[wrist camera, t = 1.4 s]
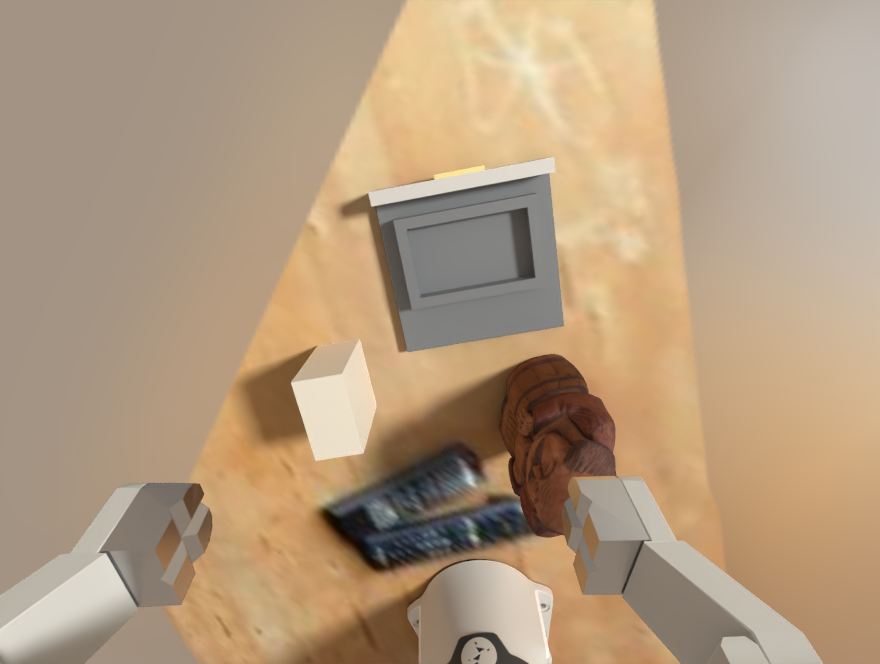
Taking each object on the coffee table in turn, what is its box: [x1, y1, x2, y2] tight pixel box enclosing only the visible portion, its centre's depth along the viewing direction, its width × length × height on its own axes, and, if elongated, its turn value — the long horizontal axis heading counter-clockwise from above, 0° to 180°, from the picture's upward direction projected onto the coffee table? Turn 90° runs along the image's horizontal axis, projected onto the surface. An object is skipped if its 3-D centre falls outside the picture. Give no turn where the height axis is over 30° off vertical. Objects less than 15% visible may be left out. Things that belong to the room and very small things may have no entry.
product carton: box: [291, 338, 377, 461], centre depth 45 cm, size 5×8×9 cm, turn 10°
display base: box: [368, 157, 564, 352], centre depth 43 cm, size 16×16×4 cm
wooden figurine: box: [499, 354, 616, 537], centre depth 41 cm, size 12×6×18 cm, turn 169°
